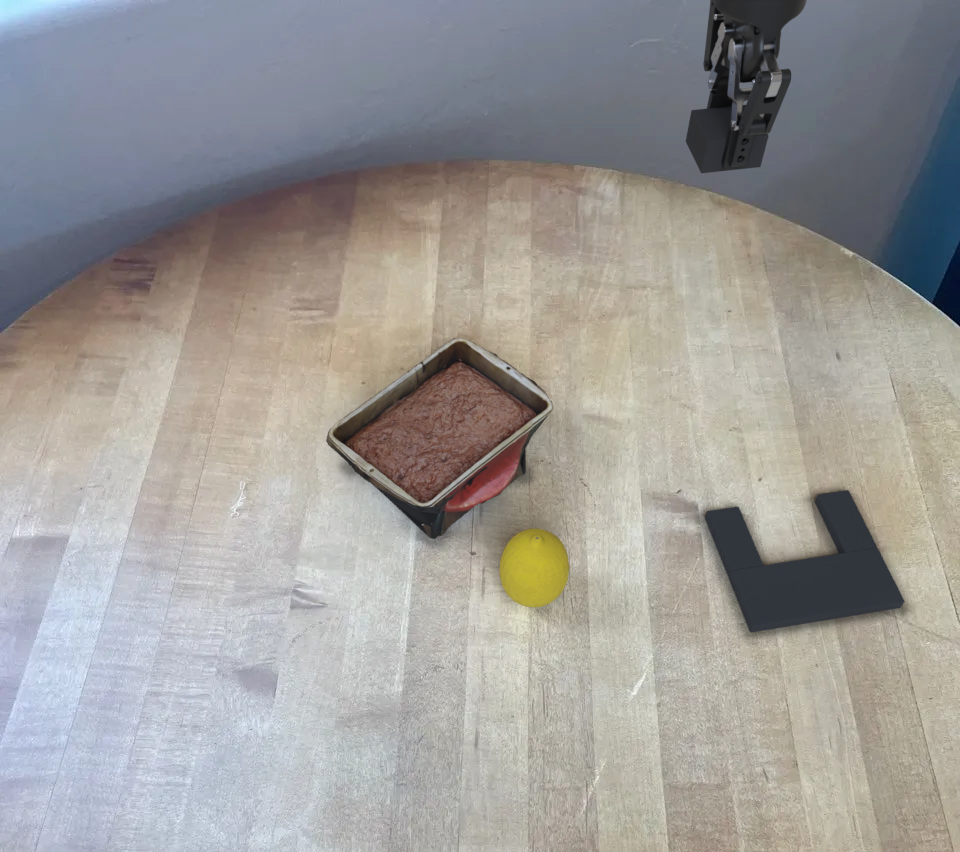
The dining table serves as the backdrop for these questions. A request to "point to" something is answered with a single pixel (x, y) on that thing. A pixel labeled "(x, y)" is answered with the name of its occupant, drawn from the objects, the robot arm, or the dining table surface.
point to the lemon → (534, 568)
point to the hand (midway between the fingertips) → (724, 147)
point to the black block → (717, 139)
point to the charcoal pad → (806, 571)
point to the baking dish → (444, 434)
